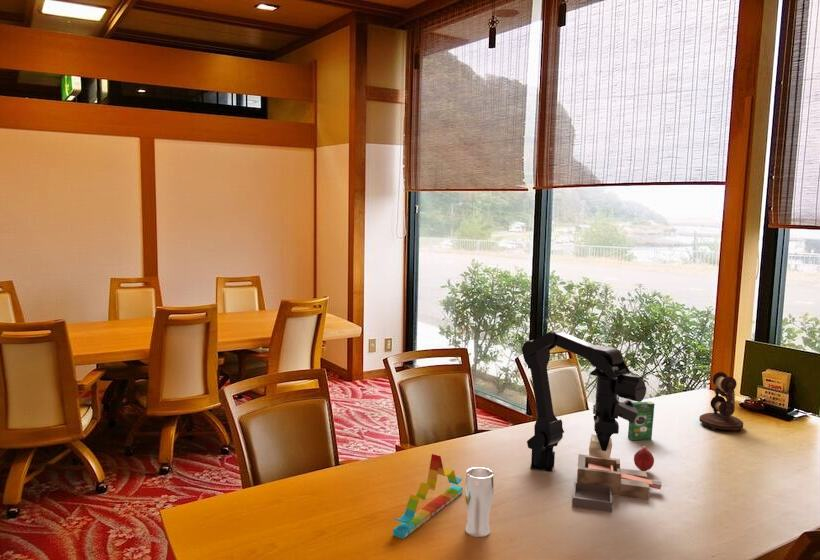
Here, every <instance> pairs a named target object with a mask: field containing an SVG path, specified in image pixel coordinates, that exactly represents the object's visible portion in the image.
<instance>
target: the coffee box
mask: <svg viewBox="0 0 820 560" xmlns="http://www.w3.org/2000/svg"><path fill="white" fill-rule="evenodd" d="M632 403H633V407H635V408H636V409H637V410H638V415H637V417H636V419H635V421H634V423H630V422H629V421H628V430H627V439H628V440H630V441H643V440H646V441H647V440H652V437H653V427H654V425H653V424H654V414H655V405H656V404H655V403H654V402H652V401H641V402H637V401H632Z"/></svg>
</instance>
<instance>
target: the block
mask: <svg viewBox="0 0 820 560" xmlns="http://www.w3.org/2000/svg"><path fill="white" fill-rule="evenodd" d="M612 449H613V440H612V437H610V440H609V443H608V447H607V450H606V451H602V449H601V446H600V443H599V440H598V437H597V435H596V434H594V433H591V435H590V441H589V446H588V455H589V456H593V457H597V458H602V459H607V460H610V458H611V456H612V455H611V454H612Z"/></svg>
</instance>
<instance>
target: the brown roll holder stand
mask: <svg viewBox="0 0 820 560" xmlns="http://www.w3.org/2000/svg"><path fill="white" fill-rule="evenodd" d="M712 383H713V384H714V386H715V388H714V389H713V391H714V394H715V395H714V397H712V399H711V401H710V407H711V408H712V409H713V410H712V411H713V412H705V413H702V414H701V415H700V416H699V417H698V418H699V422H700V423H701V424H703V425H706V426H708V427H711V429H712V431H716V429H721V430H730V431H732V430H738V432H741V431H742V429H743V427H744V422H743V421H742V420H741V419H740V418H738V417H737V416H734V415H733V414H734V412H735V409H736V405H735V403H736V400H735V399H736V397H735V395H736V394H735V389H736V388H737V385H738V384H737V380H736V379H735V378H734V377H733V376H728V374H726V372H723V371H718V372H716V373H714V374H713V377H712Z"/></svg>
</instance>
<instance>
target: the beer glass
mask: <svg viewBox="0 0 820 560" xmlns="http://www.w3.org/2000/svg"><path fill="white" fill-rule="evenodd" d="M465 472H466V475H465V481H464V482H465V485H464V496H465V497H464V498H465V505H466V512H467V513H466V514H467V519H466V524H465V532H466V534H467V535H469V536H471V537H475V538H483V537H487V536H489V535H490V534H491V526H490V514H491V509H492V505H493V504H492V503H493V500H494V493H495V491H494V488H495V487H494V485H495V484H494V483H495V482H494V481H495V480H494V471H492V470H490V469H489V468H487V467H486V468H485V467H479V466H478V467H477V466H476V467H471V468H468V469H467V470H466V471H465Z"/></svg>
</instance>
